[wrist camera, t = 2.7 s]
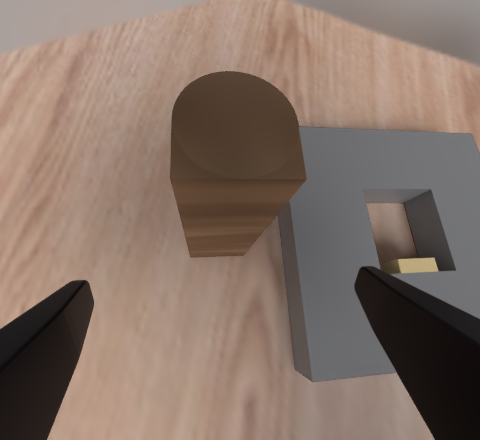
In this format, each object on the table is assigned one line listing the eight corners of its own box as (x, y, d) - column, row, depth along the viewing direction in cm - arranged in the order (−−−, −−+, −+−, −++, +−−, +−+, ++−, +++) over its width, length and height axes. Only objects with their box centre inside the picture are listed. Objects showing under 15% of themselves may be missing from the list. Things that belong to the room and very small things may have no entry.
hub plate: (509, 347, 21) (558, 354, 18) (295, 369, 18) (312, 382, 15) (442, 152, 26) (472, 133, 23) (270, 147, 23) (280, 125, 21)
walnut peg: (243, 255, 20) (307, 179, 8) (190, 257, 19) (170, 178, 7) (239, 207, 21) (291, 75, 9) (190, 207, 21) (173, 67, 8)
